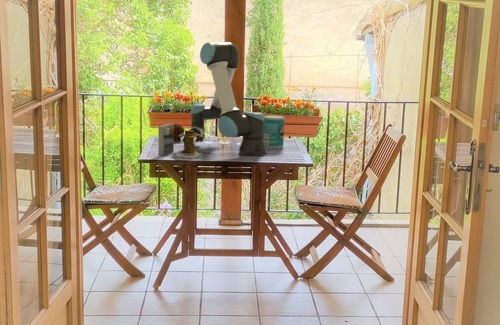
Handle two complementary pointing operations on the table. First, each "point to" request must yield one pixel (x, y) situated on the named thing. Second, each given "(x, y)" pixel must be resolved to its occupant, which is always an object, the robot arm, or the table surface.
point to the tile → (189, 155)
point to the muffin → (178, 131)
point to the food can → (273, 131)
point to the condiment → (189, 142)
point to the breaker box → (166, 139)
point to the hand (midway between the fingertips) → (187, 141)
